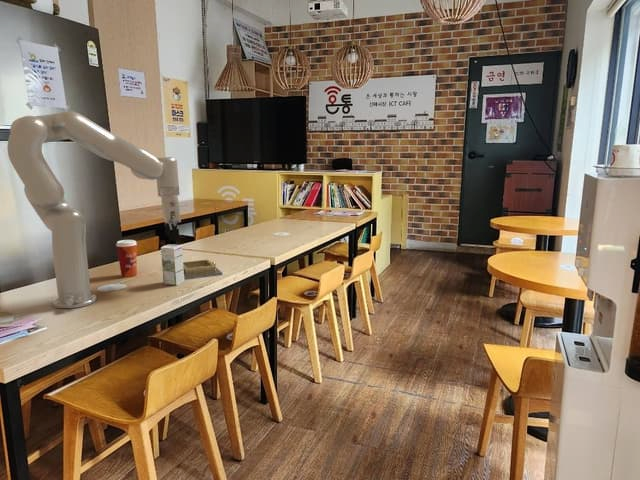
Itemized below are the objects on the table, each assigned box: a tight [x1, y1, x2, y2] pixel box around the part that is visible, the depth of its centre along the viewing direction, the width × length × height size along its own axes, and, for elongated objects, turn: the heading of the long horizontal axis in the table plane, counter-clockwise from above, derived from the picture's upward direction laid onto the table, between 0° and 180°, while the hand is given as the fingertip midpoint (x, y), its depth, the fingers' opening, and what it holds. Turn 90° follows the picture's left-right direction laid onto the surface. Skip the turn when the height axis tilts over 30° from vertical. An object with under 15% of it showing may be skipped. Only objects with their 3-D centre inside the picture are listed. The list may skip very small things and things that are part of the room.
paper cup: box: [115, 239, 138, 278], centre depth 181 cm, size 8×8×14 cm
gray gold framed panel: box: [183, 259, 223, 280], centre depth 190 cm, size 22×15×3 cm
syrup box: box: [160, 243, 185, 286], centre depth 171 cm, size 6×6×14 cm
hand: (172, 237), depth 169 cm, fingers open, 9 cm apart
